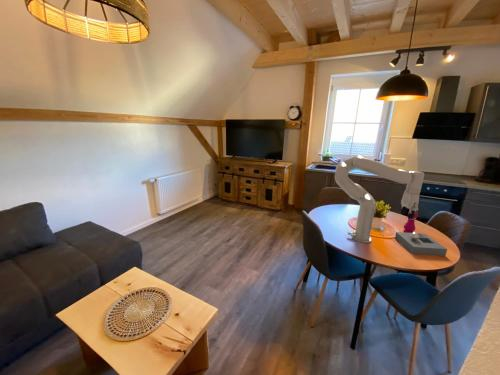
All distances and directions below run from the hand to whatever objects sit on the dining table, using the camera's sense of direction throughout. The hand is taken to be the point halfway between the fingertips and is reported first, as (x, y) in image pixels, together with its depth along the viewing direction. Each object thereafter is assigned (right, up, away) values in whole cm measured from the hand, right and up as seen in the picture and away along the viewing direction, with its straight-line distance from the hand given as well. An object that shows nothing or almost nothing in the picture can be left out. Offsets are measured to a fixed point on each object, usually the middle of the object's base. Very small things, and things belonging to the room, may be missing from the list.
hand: (406, 216), depth 142 cm
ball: (+8, -14, +3) cm, 16 cm away
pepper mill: (+18, -16, +24) cm, 34 cm away
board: (+11, -21, +5) cm, 25 cm away
